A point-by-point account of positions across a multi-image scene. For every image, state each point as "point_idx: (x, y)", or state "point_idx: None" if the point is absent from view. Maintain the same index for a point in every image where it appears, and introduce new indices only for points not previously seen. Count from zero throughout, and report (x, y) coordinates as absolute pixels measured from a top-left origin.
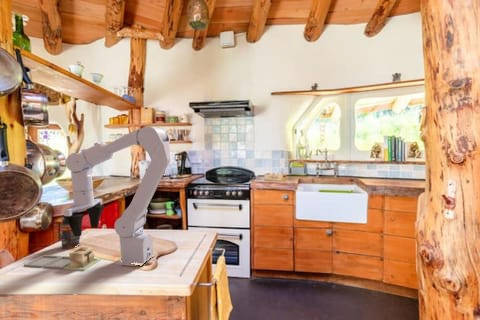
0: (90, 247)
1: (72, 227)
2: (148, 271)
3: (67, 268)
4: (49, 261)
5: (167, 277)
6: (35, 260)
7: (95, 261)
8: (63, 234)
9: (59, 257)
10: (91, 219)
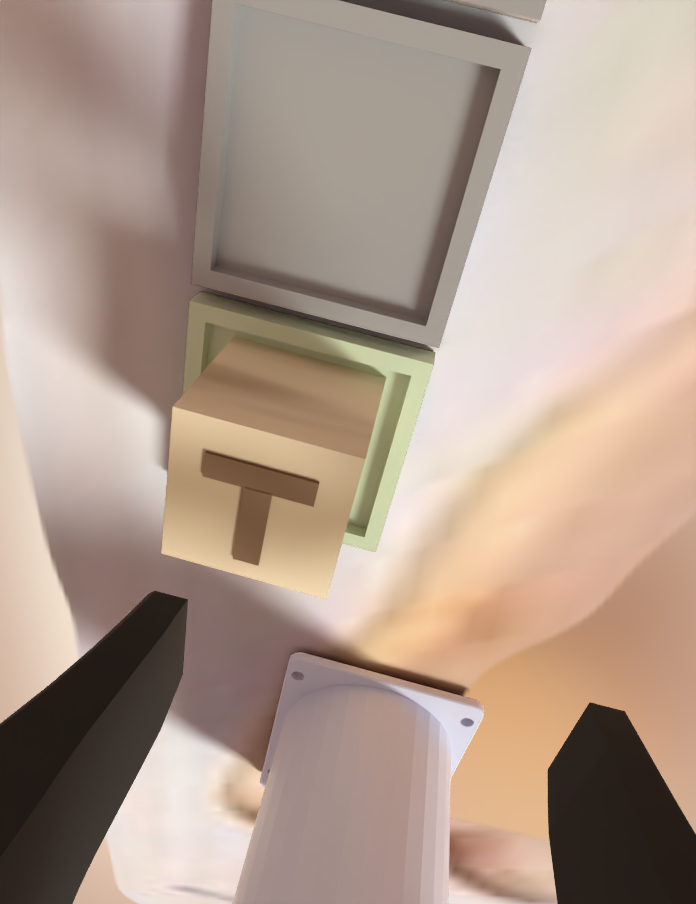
0: (331, 574)
1: (48, 727)
2: (213, 799)
3: (191, 332)
4: None
5: (160, 855)
6: None
7: None
8: None
9: (502, 13)
10: (631, 895)
